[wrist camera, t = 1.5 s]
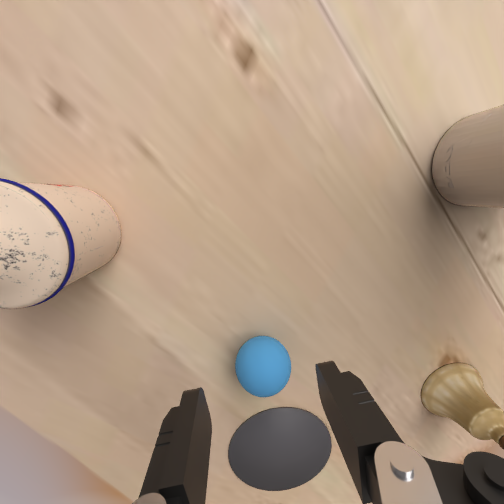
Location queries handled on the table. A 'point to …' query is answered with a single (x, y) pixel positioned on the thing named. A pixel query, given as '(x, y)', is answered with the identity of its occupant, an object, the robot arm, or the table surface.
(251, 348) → the ball
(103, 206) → the teacup with lid
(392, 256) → the table surface
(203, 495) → the robot arm
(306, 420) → the charcoal disc
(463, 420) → the hand bell
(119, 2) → the table surface
